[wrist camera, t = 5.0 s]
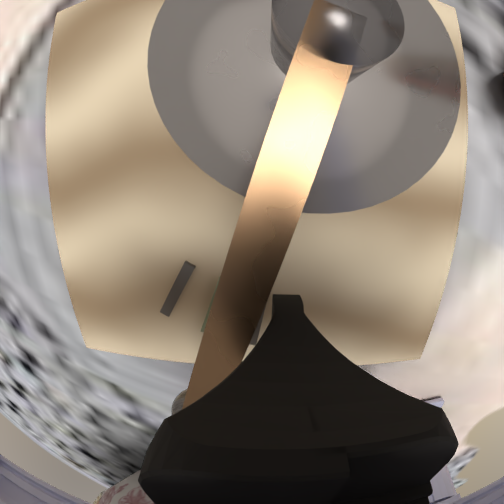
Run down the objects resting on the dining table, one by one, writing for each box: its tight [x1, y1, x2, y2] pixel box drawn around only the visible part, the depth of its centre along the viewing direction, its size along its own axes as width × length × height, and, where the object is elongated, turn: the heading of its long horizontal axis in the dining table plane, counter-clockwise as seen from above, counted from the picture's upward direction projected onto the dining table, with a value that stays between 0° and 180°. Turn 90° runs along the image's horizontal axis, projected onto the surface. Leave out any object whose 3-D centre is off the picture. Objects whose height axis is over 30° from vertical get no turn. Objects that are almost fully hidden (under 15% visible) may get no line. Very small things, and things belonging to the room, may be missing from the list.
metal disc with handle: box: [147, 0, 461, 415], centre depth 8 cm, size 20×11×5 cm, turn 162°
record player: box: [46, 0, 468, 365], centre depth 12 cm, size 19×20×2 cm
